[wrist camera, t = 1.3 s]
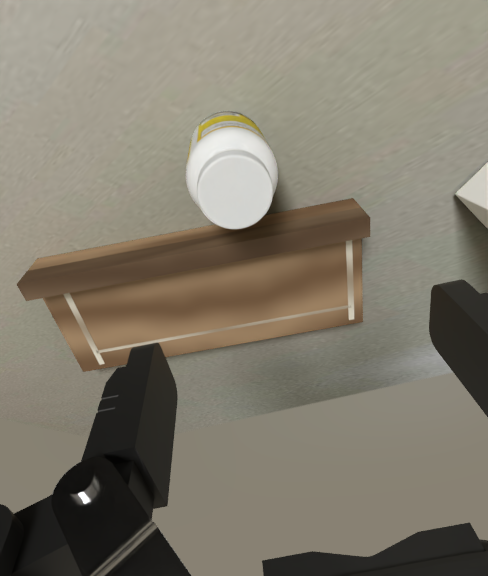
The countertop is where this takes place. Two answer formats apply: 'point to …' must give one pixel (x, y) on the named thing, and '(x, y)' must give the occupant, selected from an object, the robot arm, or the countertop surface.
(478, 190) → the milk
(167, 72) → the countertop surface
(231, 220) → the supplement bottle
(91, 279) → the board
